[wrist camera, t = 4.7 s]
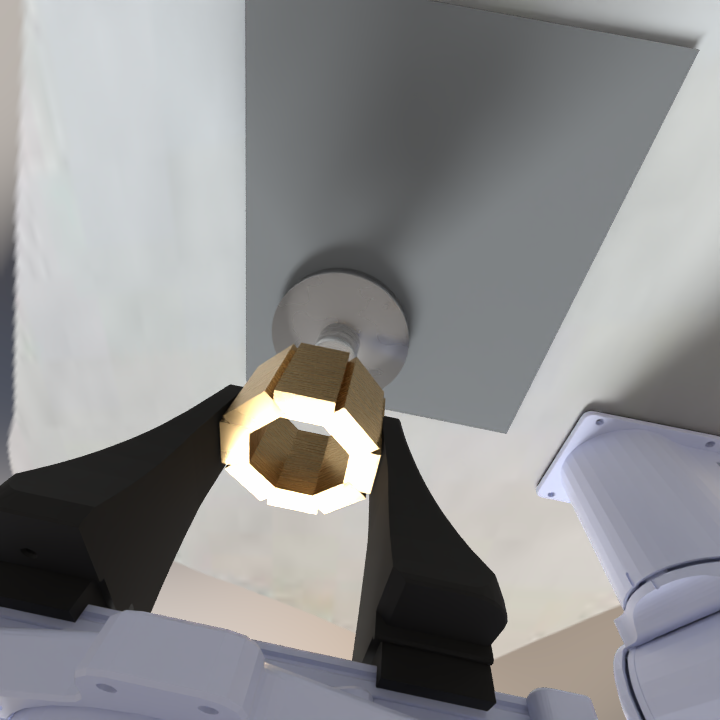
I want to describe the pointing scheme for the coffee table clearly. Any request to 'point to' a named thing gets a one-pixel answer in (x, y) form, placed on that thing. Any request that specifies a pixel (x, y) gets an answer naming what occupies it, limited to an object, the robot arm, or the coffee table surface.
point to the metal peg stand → (345, 320)
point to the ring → (300, 448)
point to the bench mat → (442, 176)
